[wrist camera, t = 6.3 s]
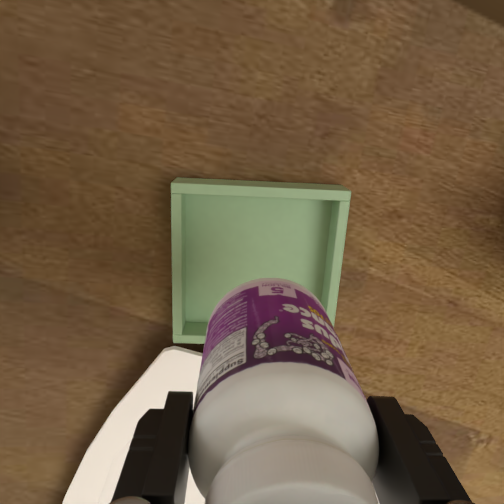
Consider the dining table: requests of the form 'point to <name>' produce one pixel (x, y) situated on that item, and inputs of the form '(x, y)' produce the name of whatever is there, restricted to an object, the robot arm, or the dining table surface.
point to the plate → (134, 427)
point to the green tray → (251, 243)
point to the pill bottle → (279, 405)
